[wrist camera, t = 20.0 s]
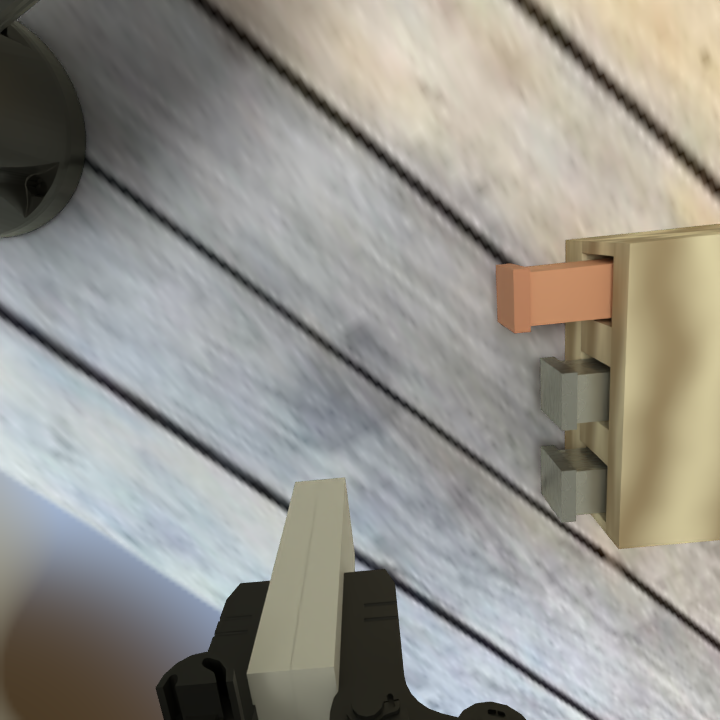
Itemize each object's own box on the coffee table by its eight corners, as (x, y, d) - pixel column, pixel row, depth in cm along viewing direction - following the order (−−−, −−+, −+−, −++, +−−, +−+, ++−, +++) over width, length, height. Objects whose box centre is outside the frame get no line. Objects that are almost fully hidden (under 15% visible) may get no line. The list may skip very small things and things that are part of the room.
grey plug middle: (540, 409, 37) (561, 430, 33) (540, 358, 36) (562, 373, 32) (772, 387, 36) (821, 406, 32) (778, 334, 35) (829, 347, 31)
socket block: (564, 482, 42) (618, 548, 33) (565, 240, 36) (630, 243, 28) (756, 464, 41) (863, 527, 32) (785, 216, 36) (920, 213, 27)
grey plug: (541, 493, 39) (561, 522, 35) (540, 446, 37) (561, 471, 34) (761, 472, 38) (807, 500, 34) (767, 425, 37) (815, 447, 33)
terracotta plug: (497, 321, 35) (514, 333, 31) (495, 264, 34) (513, 269, 30) (740, 297, 35) (787, 305, 31) (745, 239, 34) (795, 240, 30)
